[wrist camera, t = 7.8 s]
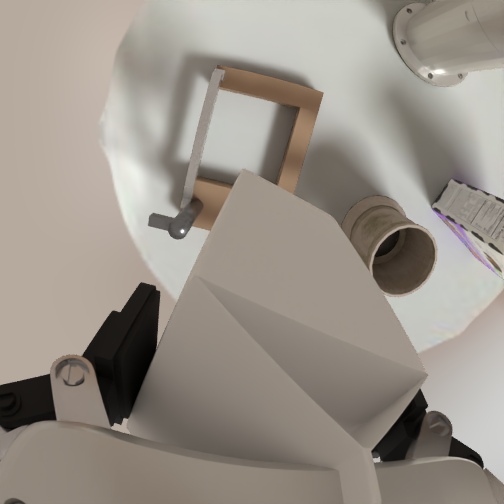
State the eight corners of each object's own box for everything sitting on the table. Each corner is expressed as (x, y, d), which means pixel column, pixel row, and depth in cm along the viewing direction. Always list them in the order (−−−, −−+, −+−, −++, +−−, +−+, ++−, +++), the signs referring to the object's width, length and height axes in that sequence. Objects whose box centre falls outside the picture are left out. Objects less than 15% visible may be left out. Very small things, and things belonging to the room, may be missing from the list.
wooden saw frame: (220, 69, 30) (217, 65, 28) (319, 94, 31) (323, 92, 29) (184, 216, 38) (179, 222, 35) (275, 239, 39) (277, 247, 36)
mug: (391, 182, 35) (439, 207, 24) (415, 243, 38) (459, 283, 27) (296, 236, 38) (311, 282, 27) (329, 292, 42) (350, 348, 31)
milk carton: (199, 253, 22) (92, 519, 5) (243, 167, 20) (118, 458, 2) (283, 293, 23) (299, 559, 6) (333, 216, 21) (479, 487, 3)
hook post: (172, 193, 34) (148, 213, 26) (204, 200, 34) (188, 223, 26) (170, 207, 35) (145, 231, 27) (201, 215, 35) (185, 241, 27)
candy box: (493, 230, 37) (559, 275, 22) (474, 258, 39) (535, 311, 24) (451, 176, 34) (532, 210, 19) (429, 208, 36) (504, 256, 21)
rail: (218, 73, 31) (213, 66, 26) (228, 75, 31) (224, 68, 27) (188, 198, 37) (179, 207, 33) (197, 200, 37) (189, 210, 33)
